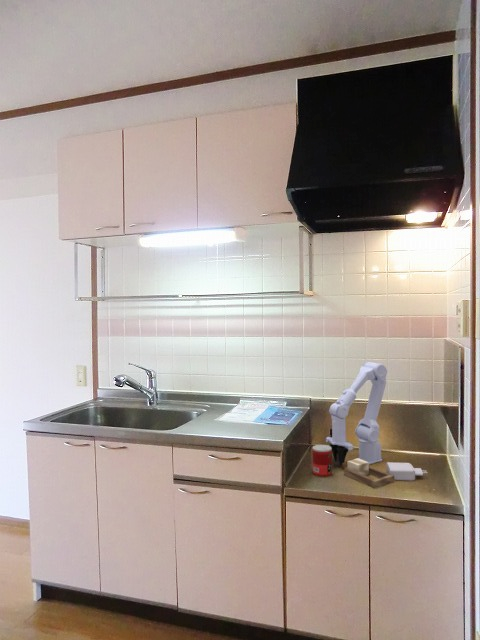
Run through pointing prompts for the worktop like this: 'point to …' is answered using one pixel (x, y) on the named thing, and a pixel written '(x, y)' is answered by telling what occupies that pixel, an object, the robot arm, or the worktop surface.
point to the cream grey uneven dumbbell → (356, 465)
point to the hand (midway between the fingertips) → (339, 462)
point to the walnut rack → (382, 478)
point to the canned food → (322, 460)
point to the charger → (403, 471)
